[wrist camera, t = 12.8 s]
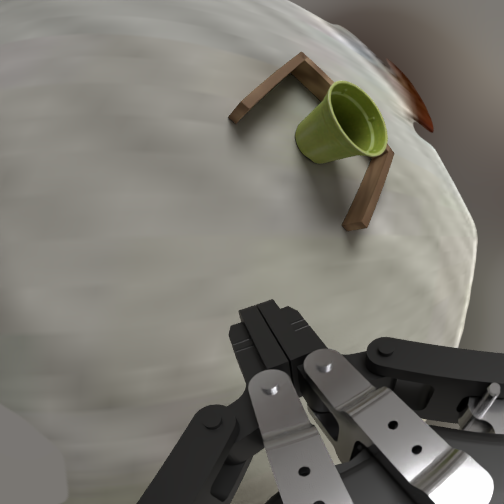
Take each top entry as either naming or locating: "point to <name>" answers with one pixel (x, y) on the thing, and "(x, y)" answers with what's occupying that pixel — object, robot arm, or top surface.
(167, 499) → the robot arm
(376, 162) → the wooden u bracket
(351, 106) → the plant pot
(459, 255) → the top surface
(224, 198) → the top surface
